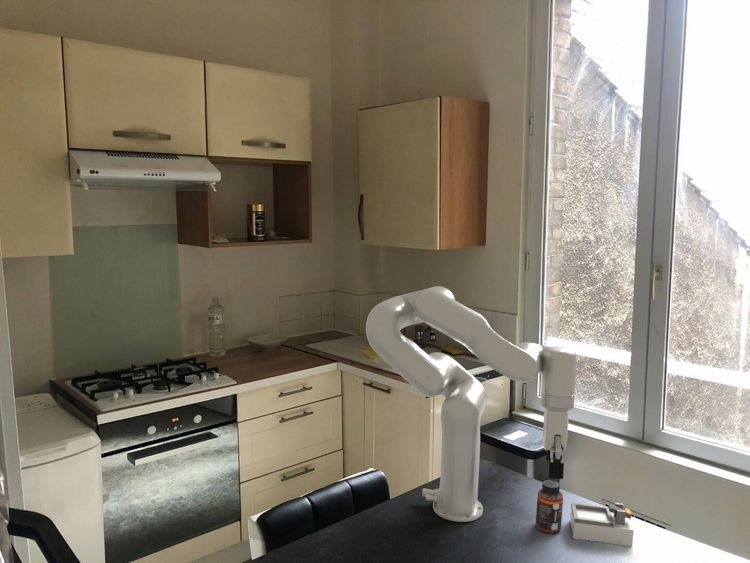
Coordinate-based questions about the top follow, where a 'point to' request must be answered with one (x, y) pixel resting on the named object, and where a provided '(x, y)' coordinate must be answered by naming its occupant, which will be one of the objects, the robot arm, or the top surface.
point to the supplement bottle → (549, 507)
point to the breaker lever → (614, 509)
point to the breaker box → (601, 524)
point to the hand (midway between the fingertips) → (554, 469)
